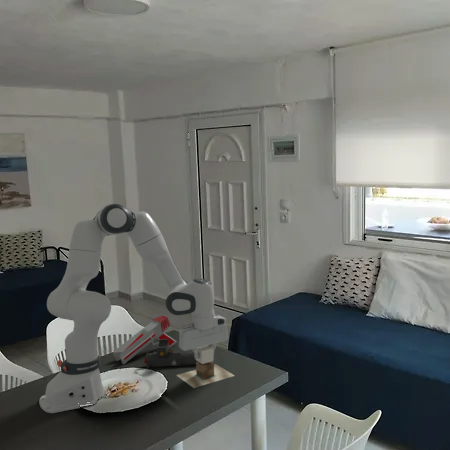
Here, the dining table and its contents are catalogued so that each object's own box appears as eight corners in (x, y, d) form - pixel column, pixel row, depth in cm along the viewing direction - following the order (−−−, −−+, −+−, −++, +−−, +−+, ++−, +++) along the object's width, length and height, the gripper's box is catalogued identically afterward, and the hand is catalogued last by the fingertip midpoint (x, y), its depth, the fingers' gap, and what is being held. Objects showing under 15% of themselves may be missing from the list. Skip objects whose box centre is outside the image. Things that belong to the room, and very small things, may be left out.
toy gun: (124, 378, 222) (110, 350, 216) (171, 339, 238) (159, 312, 233) (132, 382, 217) (119, 354, 211) (180, 342, 233) (169, 315, 228)
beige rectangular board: (194, 390, 188) (193, 387, 188) (176, 377, 199) (176, 375, 199) (235, 378, 197) (234, 375, 197) (215, 366, 209) (215, 364, 209)
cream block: (202, 364, 194) (201, 351, 194) (195, 359, 198) (195, 347, 198) (213, 360, 197) (213, 348, 196) (206, 356, 201) (206, 344, 200)
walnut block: (203, 379, 195) (202, 366, 194) (196, 374, 199) (196, 362, 198) (214, 375, 198) (213, 363, 197) (207, 371, 202) (207, 359, 201)
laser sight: (199, 370, 206) (199, 346, 205) (143, 372, 206) (142, 348, 204) (200, 361, 216) (199, 338, 215) (146, 363, 215) (145, 340, 214)
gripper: (183, 329, 187) (184, 365, 189) (230, 318, 198) (231, 352, 200) (175, 324, 193) (176, 360, 194) (221, 314, 204) (222, 348, 205)
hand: (204, 356), depth 197 cm, fingers closed on cream block, 5 cm apart
